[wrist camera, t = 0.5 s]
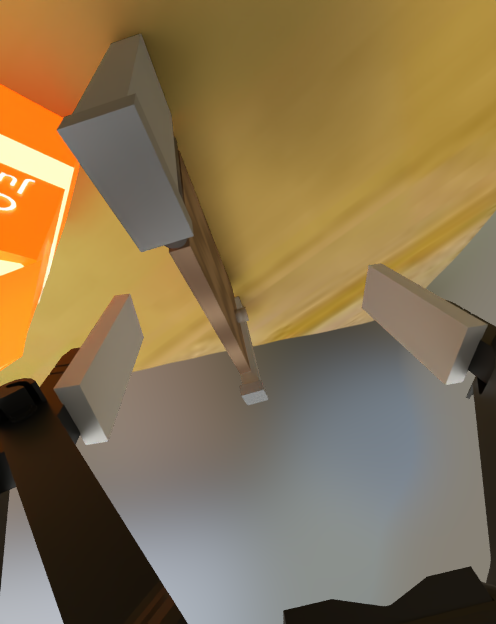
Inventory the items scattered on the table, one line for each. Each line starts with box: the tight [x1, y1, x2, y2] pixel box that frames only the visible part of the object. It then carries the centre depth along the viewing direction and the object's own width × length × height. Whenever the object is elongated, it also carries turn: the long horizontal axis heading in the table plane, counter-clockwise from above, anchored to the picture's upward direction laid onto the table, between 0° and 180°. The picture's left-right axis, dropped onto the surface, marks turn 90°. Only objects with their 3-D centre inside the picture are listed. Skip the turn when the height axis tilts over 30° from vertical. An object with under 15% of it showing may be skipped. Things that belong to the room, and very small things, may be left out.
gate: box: [164, 137, 251, 374], centre depth 25 cm, size 19×2×12 cm, turn 11°
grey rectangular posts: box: [57, 34, 268, 405], centre depth 25 cm, size 30×3×14 cm, turn 11°
